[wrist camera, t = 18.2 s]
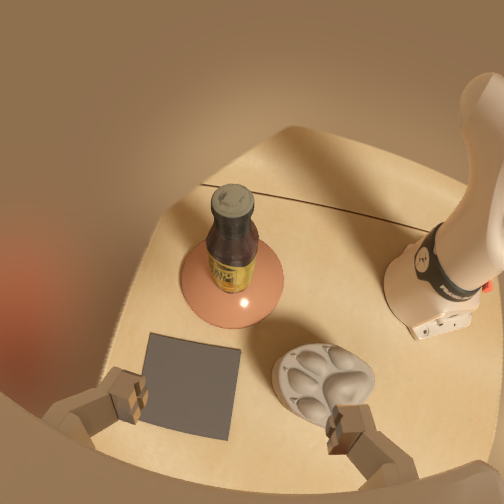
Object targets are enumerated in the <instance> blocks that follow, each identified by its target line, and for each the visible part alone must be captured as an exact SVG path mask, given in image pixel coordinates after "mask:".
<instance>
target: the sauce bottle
mask: <svg viewBox="0 0 504 504" xmlns="http://www.w3.org/2000/svg"><path fill="white" fill-rule="evenodd" d="M211 211H212V214H213V216H214V223H213V225H212V227H211V230H210V232H209V234H208V236H207V238H206V249H207V254H208V260H209V265H210V269H211V274H212V279H213V281H214V283H215V284H216V286H217V287H218V288H219V289H221V290H222V291H224V292H226V293H228V294H234V293H239V292H242V291H244V290H245V289H246V288H247V287H248V285H249V284H250V283H251V281H252V278H253V273H254V267H255V262H256V257H257V251H258V241H259V235H258V231H257V228H256V226H255V224H254V222H253V221H252V220H251V215H252V214H253V211H254V197H253V194H252V193H251V191H250V190H248V189H247V188H246V187H244V186H242V185H239V184H227V185H224V186H221V187H219V188H218V189H217V190H216V191H215V192H214V194H213V196H212V199H211Z"/></svg>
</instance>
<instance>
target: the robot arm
mask: <svg viewBox="0 0 504 504" xmlns="http://www.w3.org/2000/svg"><path fill="white" fill-rule="evenodd" d="M459 124H460V129H461V133H462V135H463V138H464V141H465V143H466V147H467V151H468V157H469V168H470V170H469V181H468V186H467V189H466V192H465V194H464V196H463V198H462V200H461V201H460V203H459V204H458V206H457V207H456V209H455V210H454V211H453V212H452V214H451V215H450V216H449V217H448V218H447V220H446V221H445V222H442V223H440V224H439V225H437V226H436V227H435V228H433V229H432V230H431V232H430V233H428V234H426V235H425V236H424V237H423V238H421V239H420V240H419V241H417V242H416V243H415V244H412V243H411V244H409V245H407V246H406V248H405V249H404V251H403V253H402V254H401V255H400V256H399V257H397V258H395V259H394V260H393V261H392V262H391V263H390V264H389V266H388V268H387V270H386V272H385V276H384V292H385V296H386V300H387V302H388V305H389V307H390V309H391V310H392V312H393V313H394V315H395V316H396V317H397V318H398V319H399V320H400V321H401V322H403V323H404V324H405V325H406V326H407V327H408V329H409V331H410V332H411V334H412V336H413V337H414V339H415V340H417V341H420V340H424V339H428V338H432V337H435V336H439V335H443V334H446V333H449V332H453V331H456V330H459V329H463V328H465V327H467V326H469V325H470V322H471V318H472V312H473V311H475V310H476V309H477V308H478V305H479V301H480V288H481V287H482V291H483V292H489V291H491V290H492V289H493V286H492V283H491V279H493V278H494V277H496V276H497V275H499V274H500V273H501V272H503V271H504V76H502V75H500V74H498V73H496V72H488V73H483V74H481V75H479V76H477V77H475V78H474V79H472V80H471V81H470V82H469V83H468V85H467V86H466V87H465V89H464V91H463V93H462V95H461V99H460V103H459ZM423 331H425V334H424V332H423ZM145 384H146V378H145V377H144V376H142V375H139V374H136V373H133V372H130V371H127V370H124V369H121V368H118V367H115V366H114V367H113V368H111V370H110V371H109V372H108V374H107V375H106V376H105V378H104V379H103V380H102V382H101V383H100V385H99V386H98V387H97V389H96V388H92V389H89V390H87V391H85V392H82V393H79V394H77V395H74V396H71V397H69V398H66V399H63V400H61V401H58V402H55V403H54V404H53V405H52V406H51V407H50V409H49V410H48V411H47V413H46V414H45V415H44V417H43V418H42V419H41V420H40V419H38V418H37V417H35V416H34V415H32V414H31V413H29V412H27V411H26V410H25V409H23V408H22V407H20V406H19V405H17V404H16V403H15V402H13V401H12V400H11V399H10V398H8V397H7V396H6V395H4V394H3V393H2V392H1V391H0V504H504V482H503V479H502V477H501V474H500V473H499V471H498V470H496V469H495V468H493V467H492V466H490V465H489V464H487V463H485V462H483V461H481V460H475V461H472V462H469V463H467V464H464V465H462V466H459V467H456V468H453V469H451V470H448V471H445V472H442V473H439V474H435V475H432V476H429V477H425V478H421V479H419V477H418V474H417V470H416V467H415V464H414V461H413V458H412V457H410V456H409V455H408V454H407V453H405V452H404V451H403V450H402V449H400V448H399V447H398V446H397V445H396V444H394V443H393V442H392V441H391V440H390V439H388V438H387V437H386V436H385V435H384V434H382V433H381V432H380V431H377V430H376V427H375V423H374V420H373V417H372V414H371V410H370V407H369V405H368V404H367V405H335V406H334V407H333V409H332V413H333V414H332V415H330V416H329V417H328V419H327V422H326V436H327V437H328V438H329V441H328V442H327V447H328V455H346V454H347V455H346V456H347V457H348V458H349V459H350V460H351V462H352V463H353V464H354V465H355V466H356V468H357V469H358V470H359V471H360V472H361V474H362V475H363V476H364V477H365V478H366V480H367V481H366V482H365V483H364V484H363V485H362V486H361V487H360V488H359V489H358V491H352V492H341V493H327V494H274V493H260V492H249V491H241V490H233V489H226V488H220V487H214V486H209V485H203V484H199V483H194V482H189V481H185V480H181V479H177V478H173V477H170V476H166V475H163V474H159V473H156V472H153V471H149V470H146V469H143V468H140V467H137V466H135V465H132V464H129V463H126V462H124V461H121V460H119V459H116V458H114V457H111V456H109V455H107V454H104V453H102V452H100V451H97V450H95V449H96V448H95V445H94V444H93V442H92V440H91V439H90V437H92V436H93V435H95V434H97V433H98V432H100V431H102V430H103V429H105V428H107V427H108V426H110V425H112V424H113V423H115V422H117V421H118V419H119V420H122V421H125V422H128V423H131V424H134V425H136V423H137V421H138V419H139V417H140V415H141V413H140V410H141V409H143V408H144V407H145V405H146V403H147V399H148V389H147V388H146V387H145Z"/></svg>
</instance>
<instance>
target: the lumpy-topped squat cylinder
mask: <svg viewBox="0 0 504 504" xmlns="http://www.w3.org/2000/svg"><path fill="white" fill-rule="evenodd" d="M271 377H272V386H273V389H274V391H275V393H276V395H277V397H278V399H279V401H280V402H281V404H282V405H283V406H284V407H285V408H286V409H287V410H289V411H290V412H292V413H293V414H295V415H297V416H299V417H301V418H303V419H305V420H307V421H309V422H311V423H313V424H315V425H318V426H320V427H323V428H326V422H327V419H328V417H329V416H330V415H332V414H333V413H332V409H333V407H334V406H335V405H364V403H365V401H366V400H367V398H368V397H369V396H370V394H371V393H372V391H373V389H374V387H375V376H374V373H373V371H372V369H371V367H370V366H369V365H368V364H367V363H366V362H364V361H363V360H361V359H360V358H358V357H357V356H356V355H354V354H352V353H351V352H349V351H347V350H345V349H343V348H341V347H339V346H337V345H334V344H329V343H310V344H304V345H301V346H298V347H296V348H294V349H292V350H290V351H288V352H287V353H285V354H284V355H283V356H281V357H280V358H279V359H278V360H277V361H276V362H275V364H274V366H273V368H272V375H271Z"/></svg>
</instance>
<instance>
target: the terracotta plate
mask: <svg viewBox="0 0 504 504" xmlns="http://www.w3.org/2000/svg"><path fill="white" fill-rule="evenodd" d="M181 282H182V289H183V294H184V296H185V299H186V301H187V302H188V304H189V306H190V307H191V309H192V310H193V311H194V313H195V314H196V315H197V316H199V317H200V318H201V319H202V320H204V321H205V322H207V323H209V324H211V325H214V326H216V327H220V328H225V329H240V328H245V327H248V326H252V325H254V324H256V323H258V322H260V321H261V320H263V319H264V318H265V317H267V316H268V315H269V314H270V313H271V312H272V310H273V309H274V308H275V306H276V305H277V303H278V301H279V299H280V296H281V293H282V290H283V284H284V275H283V269H282V265H281V263H280V261H279V259H278V257H277V255H276V254H275V252H274V251H273V250H272V249H271V248H270V247H269V246H268V245H267V244H266V243H264V242H263V241H261V240H260V239H259V241H258V251H257V257H256V262H255V267H254V273H253V278H252V281H251V283H250V284H249V285H248V287H247V288H246V289H245V290H244V291H242V292H239V293H234V294H228V293H226V292H224V291H222V290H221V289H219V288H218V287H217V286H216V284H215V283H214V281H213V279H212V274H211V269H210V265H209V260H208V254H207V249H206V240H204V241H203V242H202V243H200V244H199V245H198V246H197V247H196V248H195V249H194V250H193V251H192V252H191V253H190V255H189V256H188V258H187V260H186V262H185V264H184V267H183V271H182V280H181Z"/></svg>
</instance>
